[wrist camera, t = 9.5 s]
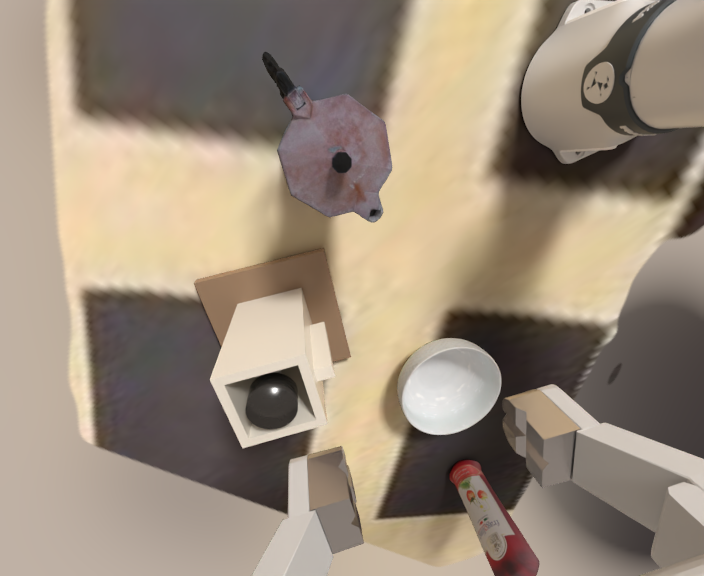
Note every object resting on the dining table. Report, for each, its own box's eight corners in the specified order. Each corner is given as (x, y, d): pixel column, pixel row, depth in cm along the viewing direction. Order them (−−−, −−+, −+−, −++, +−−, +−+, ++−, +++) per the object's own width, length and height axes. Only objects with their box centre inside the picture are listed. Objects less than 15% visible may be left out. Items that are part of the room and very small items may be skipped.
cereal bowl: (493, 373, 62) (517, 399, 55) (417, 420, 63) (431, 451, 56) (456, 307, 55) (478, 328, 48) (371, 361, 56) (381, 388, 50)
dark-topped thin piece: (294, 301, 47) (295, 375, 32) (306, 339, 50) (312, 424, 34) (249, 313, 47) (228, 393, 31) (263, 351, 49) (250, 441, 34)
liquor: (463, 449, 68) (566, 629, 42) (485, 462, 70) (595, 639, 45) (438, 472, 69) (524, 660, 44) (461, 484, 72) (554, 668, 46)
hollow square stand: (323, 248, 47) (340, 302, 31) (349, 351, 55) (374, 441, 38) (196, 279, 46) (141, 353, 29) (240, 381, 53) (216, 487, 37)
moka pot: (326, 218, 46) (348, 263, 28) (241, 121, 40) (197, 98, 22) (380, 170, 45) (439, 184, 26) (299, 63, 39) (305, -14, 20)
